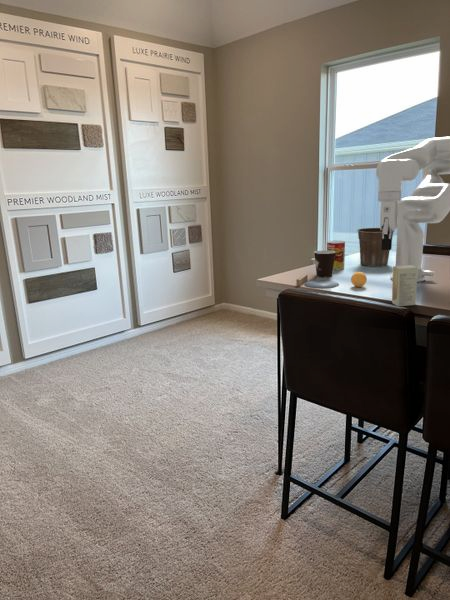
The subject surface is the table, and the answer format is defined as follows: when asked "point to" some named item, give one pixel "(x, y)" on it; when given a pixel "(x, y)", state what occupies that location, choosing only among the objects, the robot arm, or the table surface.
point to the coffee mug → (324, 263)
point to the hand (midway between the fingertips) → (386, 249)
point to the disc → (321, 284)
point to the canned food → (337, 253)
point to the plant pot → (372, 247)
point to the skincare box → (404, 285)
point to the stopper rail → (301, 280)
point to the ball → (358, 279)
